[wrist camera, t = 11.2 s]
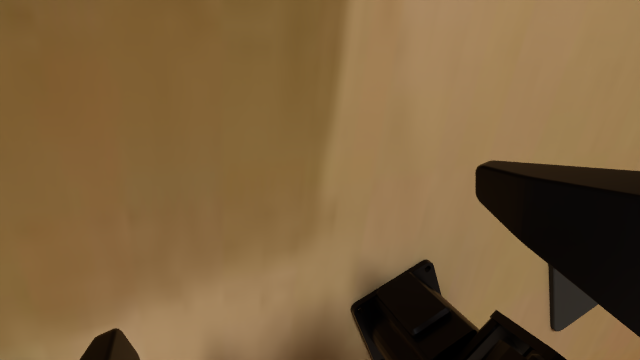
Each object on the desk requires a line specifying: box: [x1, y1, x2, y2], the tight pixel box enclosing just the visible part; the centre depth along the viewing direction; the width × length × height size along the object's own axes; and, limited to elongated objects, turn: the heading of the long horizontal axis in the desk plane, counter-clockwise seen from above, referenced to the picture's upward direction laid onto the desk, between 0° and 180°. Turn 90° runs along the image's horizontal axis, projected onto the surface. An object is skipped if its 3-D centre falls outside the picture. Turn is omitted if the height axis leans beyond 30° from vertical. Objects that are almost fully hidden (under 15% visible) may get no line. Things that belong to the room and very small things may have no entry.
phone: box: [549, 265, 598, 331], centre depth 34 cm, size 7×1×15 cm
